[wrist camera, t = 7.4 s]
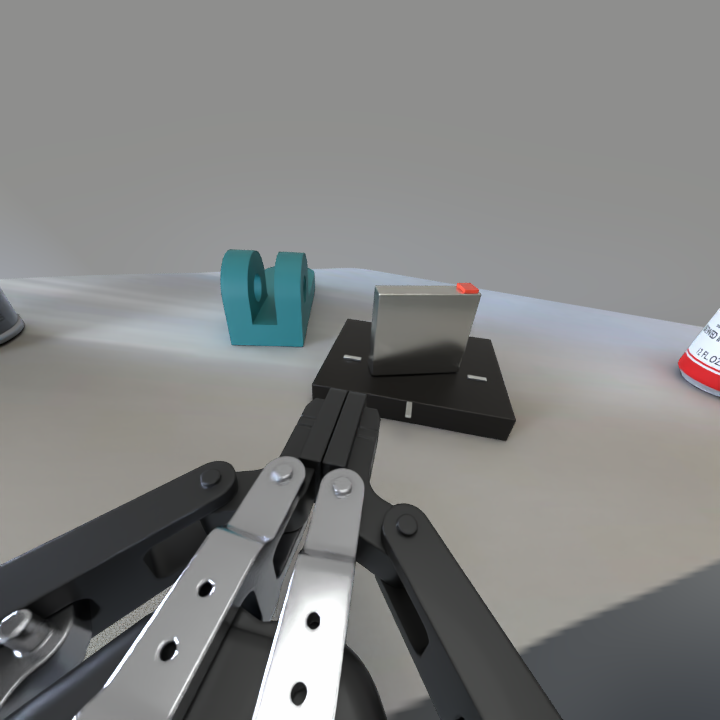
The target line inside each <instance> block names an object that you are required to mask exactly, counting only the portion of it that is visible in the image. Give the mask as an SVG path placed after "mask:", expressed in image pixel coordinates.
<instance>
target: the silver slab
mask: <svg viewBox="0 0 720 720" xmlns="http://www.w3.org/2000/svg"><path fill="white" fill-rule="evenodd" d="M480 297H481V294H480V293H479V290H478V289H477V288H476V287H475V286H473V285H472V284H471V283H457V286H381V285H376V286H375V292H374V303H373V314H372V325H371V336H370V347H369V358H368V365H369V369H370V372H371V375H372V376H376V375H399V374H423V373H447V372H458V371H459V368H460V365H461V361H462V358H463V355H464V351H465V348H466V344H467V341H468V338H469V334H470V331H471V328H472V324H473V321H474V318H475V314H476V311H477V307H478V304H479V301H480Z"/></svg>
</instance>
